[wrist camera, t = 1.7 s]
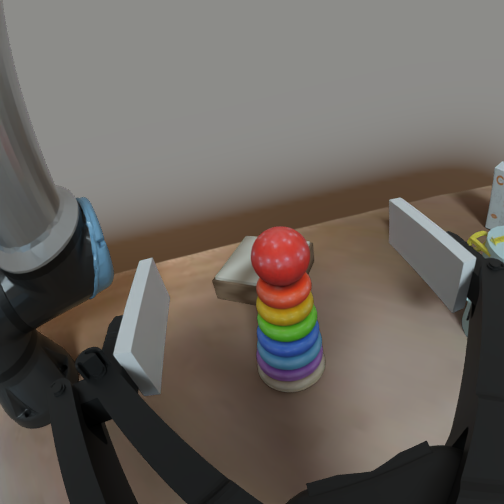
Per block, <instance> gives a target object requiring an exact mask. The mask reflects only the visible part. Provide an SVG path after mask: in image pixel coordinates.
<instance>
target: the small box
mask: <svg viewBox="0 0 504 504" xmlns="http://www.w3.org/2000/svg"><path fill="white" fill-rule="evenodd" d="M497 226H504V162H503V161H502V162H501V163H500V164H499V165H498V166H496V167H495V170H494V178H493V185H492V192H491V198H490V204H489V210H488V215H487V220H486V225H485V227H486V228H488V229H490V230H491V229H492V228H495V227H497Z"/></svg>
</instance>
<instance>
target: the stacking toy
mask: <svg viewBox="0 0 504 504" xmlns="http://www.w3.org/2000/svg"><path fill="white" fill-rule="evenodd" d="M309 262H310V250H309V246H308V244H307V242H306V240H305V239H304V237H303V236H302V235H301V234H300V233H299V232H297V231H295V230H294V229H291V228H288V227H273V228H270V229H267V230H266V231H264V232H263V233H261V234H260V235H259V236H258V237H257V239H256V240H255V242H254V243H253V246H252V250H251V263H252V266H253V269H254V270H255V272H256V274H257V275H258V276H259V279H258V281H257V285H256V291H257V295H258V297H257V300H256V308H257V311H258V315H257V321H258V328H257V337H258V342H257V353H256V357H257V362H258V363H257V367H258V372H259V375H260V377H261V379H262V380H263V381H264V382H265V383H266V384H267V385H268V386H270V387H271V388H273V389H275V390H278V391H282V392H297V391H301V390H304V389H306V388H308V387H310V386H312V385H313V384H314V383H316V382H317V381H318V380H319V378H320V377H321V375H322V374H323V371H324V368H325V356H324V353H323V348H322V337H321V333H320V331H319V324H318V321H317V311H316V308H315V306H314V304H313V303H314V300H313V295H312V293H311V280H310V277H309V275H308V274H307V273H306V270H307V268H308V266H309Z"/></svg>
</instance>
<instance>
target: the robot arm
mask: <svg viewBox="0 0 504 504" xmlns="http://www.w3.org/2000/svg"><path fill="white" fill-rule="evenodd" d="M389 243H390V244H391V245H392V246H393V247H394V248H395V249H396V250H397V251H398V252H399V254H400V255H401V256H402V257H403V258H404V259H405V260H406V261H407V262H408V263H409V264H410V265H411V266H412V267H413V269H414V270H415V271H416V272H417V273H418V274H419V275H420V276H421V277H422V279H423V280H424V281H425V282H426V283H427V284H428V285H429V286H430V288H431V289H432V290H433V291H434V292H435V293H436V294H437V296H438V297H439V298H440V299H441V300H442V301H443V303H444V304H445V305H446V306H447V307H448V309H449V310H450V311H451V312H452V313H454V312H456V311H458V310H460V309H463V308H464V307H465V303H466V300H467V298H468V299H469V300H470V301H471V302H472V303H471V306H470V310H469V313H468V316H467V319H466V320H467V321H468V320H469V328H468V338H467V348H466V356H465V363H464V370H463V376H462V382H461V388H460V393H459V399H458V403H457V408H456V413H455V417H454V421H453V426H452V429H451V433H450V435H449V438H448V440H447V442H446V444H445V446H444V445H437V446H429V444H428V442H427V441H425V442H423V443H421V444H418V445H416V446H414V447H412V448H409V449H407V450H405V451H403V452H400V453H399V454H397V455H396V456H394V457H393V458H392V459H390V460H389V461H387V462H386V463H384V464H383V465H381V466H380V467H378V468H377V469H375V470H374V471H371V472H364V473H355V474H344V475H336V476H333V477H329V478H326V479H322V480H318V481H315V482H311V483H307V484H306V485H307V489H308V490H307V489H306V490H304V491H302V492H300V493H299V494H297V495H296V496H294V497H293V498H292V499H290V500H289V501H288V502H287V503H286V504H504V263H503V262H502V261H500V260H498V259H495V258H486V259H485V258H484V257H483V256H482V255H481V254H480V253H478V252H477V251H476V250H475V249H474V248H473V247H471V246H469V244H468V243H467V242H465V241H464V240H463V239H462V238H460V237H459V236H458V235H456V234H454V233H452V232H449V231H448V232H445V231H444V230H442V229H441V228H440V227H439V226H437V225H436V224H435V223H434V222H432V221H431V220H430V219H429V218H427V217H426V216H425V215H423V214H422V213H421V212H419V211H418V210H417V209H415V208H414V207H413V206H411V205H410V204H409V203H407V202H406V201H405V200H403V199H402V198H396V199H391V200H389ZM113 278H114V270H113V265H112V261H111V257H110V253H109V250H108V247H107V245H106V243H105V241H104V236H103V233H102V229H101V227H100V224H99V221H98V219H97V216H96V214H95V211H94V209H93V207H92V205H91V203H90V201H89V200H88V199H87V198H85V197H82V198H75V196H74V195H73V194H72V193H71V192H70V191H69V190H68V189H66V188H64V187H62V186H57V185H55V184H54V181H53V179H52V177H51V174H50V172H49V169H48V167H47V164H46V162H45V159H44V157H43V154H42V151H41V149H40V146H39V144H38V141H37V138H36V135H35V132H34V130H33V127H32V124H31V121H30V118H29V114H28V111H27V108H26V105H25V102H24V98H23V95H22V92H21V88H20V84H19V81H18V77H17V73H16V70H15V65H14V61H13V57H12V52H11V48H10V43H9V38H8V33H7V28H6V22H5V16H4V9H3V1H2V0H0V404H1V405H2V407H3V409H4V410H5V412H6V413H7V414H8V415H9V416H10V417H11V418H12V419H13V420H14V421H15V422H17V423H18V424H19V425H21V426H23V427H25V428H40V427H43V426H46V425H48V424H50V423H51V426H52V432H53V437H54V442H55V447H56V452H57V457H58V461H59V465H60V470H61V474H62V477H63V481H64V485H65V488H66V492H67V495H68V499H69V502H70V504H138V502H137V500H136V498H135V496H134V494H133V492H132V490H131V488H130V485H129V483H128V481H127V479H126V476H125V474H124V472H123V469H122V467H121V464H120V462H119V460H118V457H117V455H116V452H115V449H114V447H113V444H112V441H111V439H110V436H109V433H108V430H107V427H106V425H105V422H106V421H108V420H111V419H113V420H114V422H115V423H116V424H117V426H118V427H119V428H120V429H121V431H122V432H123V433H124V435H125V436H126V437H127V438H128V440H129V441H130V442H131V443H132V445H133V446H134V447H135V448H136V449H137V451H138V452H139V453H140V454H141V455H142V456H143V458H144V459H145V460H146V461H147V462H148V463H149V464H150V466H151V467H152V468H153V469H154V470H155V471H156V472H157V473H158V474H159V475H160V477H161V478H162V479H163V480H164V481H165V482H166V483H167V484H168V485H169V486H170V487H171V488H172V489H173V490H174V491H175V492H176V493H177V494H178V495H179V496H180V497H181V498H182V499H183V500H184V501H185V502H186V503H187V504H263V503H261V502H260V501H259V500H257V499H256V498H254V497H253V496H252V495H250V494H249V493H248V492H246V491H245V490H244V489H242V488H241V487H240V486H238V485H237V484H236V483H234V482H233V481H231V480H230V479H228V478H227V477H225V476H224V475H223V474H222V473H220V472H219V471H218V470H217V469H216V468H214V467H213V466H212V465H211V464H210V463H208V462H207V461H206V460H205V459H204V458H203V457H201V456H200V455H199V454H198V453H197V452H196V451H195V450H194V449H192V448H191V447H190V446H189V445H188V444H187V443H186V442H185V441H184V440H183V439H182V438H181V437H179V436H178V435H177V434H176V433H175V432H174V431H173V430H172V429H171V428H170V427H169V426H168V425H167V424H166V423H165V422H164V421H163V420H162V419H161V418H160V417H159V416H158V415H157V414H156V413H155V412H154V411H153V410H152V409H151V408H150V407H149V406H148V404H147V403H146V402H145V401H144V400H143V399H142V398H141V397H140V396H139V395H138V389H139V390H140V391H141V393H142V394H143V395H144V396H149V395H157V394H160V393H161V380H162V368H163V357H164V346H165V337H166V327H167V319H168V310H169V302H170V297H169V294H168V292H167V290H166V288H165V285H164V283H163V281H162V279H161V276H160V274H159V272H158V269H157V267H156V265H155V262H154V260H153V258H149V259H145V260H141V261H139V264H138V267H137V270H136V274H135V277H134V280H133V283H132V287H131V290H130V293H129V297H128V300H127V304H126V307H125V311H124V314H123V315H121V316H116V317H115V318H114V319H113V320H112V322H111V323H110V324H109V327H108V331H107V335H106V337H105V341H104V344H103V348H102V350H101V349H100V348H98V347H91V348H88V349H86V350H84V351H83V352H82V353H81V354H80V355H79V356H78V357H77V359H76V362H74V360H73V359H72V358H71V356H70V355H69V354H68V353H67V352H66V350H64V349H63V348H62V347H61V346H59V345H58V344H56V343H55V342H53V341H52V340H50V339H48V338H47V337H45V336H44V335H42V334H41V333H40V332H38V331H37V330H36V328H37V327H39V326H41V325H43V324H44V323H46V322H48V321H50V320H51V319H53V318H55V317H57V316H59V315H60V314H62V313H64V312H66V311H68V310H70V309H72V308H73V307H75V306H77V305H79V304H81V303H83V302H85V301H87V300H88V299H92V298H94V297H95V296H96V294H98V293H99V292H101V291H103V290H104V289H106V288H107V287H109V286H110V285H111V283H112V281H113ZM78 372H79V373H80V374H81V376H82V377H83V378H84V379H83V380H81V381H79V382H78Z"/></svg>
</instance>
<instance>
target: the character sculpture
mask: <svg viewBox="0 0 504 504" xmlns="http://www.w3.org/2000/svg"><path fill="white" fill-rule="evenodd" d="M483 235H486V236H487V239H486V241H485V242H484V243H483V244H482V243H480V242H479V241H478V240H477V239H476V238H478V237H480V236H483ZM467 243H468V244H469V246H472V243H473V244H475V245H476V246H477V247H475V248H474V249H475V250H476V251H477V252H479V251H481V250H482V251H483V255H482V256H483V257H484V258H485V259H486V258H495V259H498V260H500V261H502V262H503V263H504V226H497V227H495V228H492V229H491V230H490V231H489V232H486V231H480V232H477V233H475V234H473V235H472V236H471V237H470V238H469V239H468V241H467ZM467 301H468V303H467V306H466V309H465V311H464V314H463V317H462V328H463V330H464V332H465V335H466V336H467V337H468V328H469V320H468V321H467V320H466V319H467V316H468V313H469V310H470V306H471V303H472V302H471V301H470V300H469V299H468V298H467Z"/></svg>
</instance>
